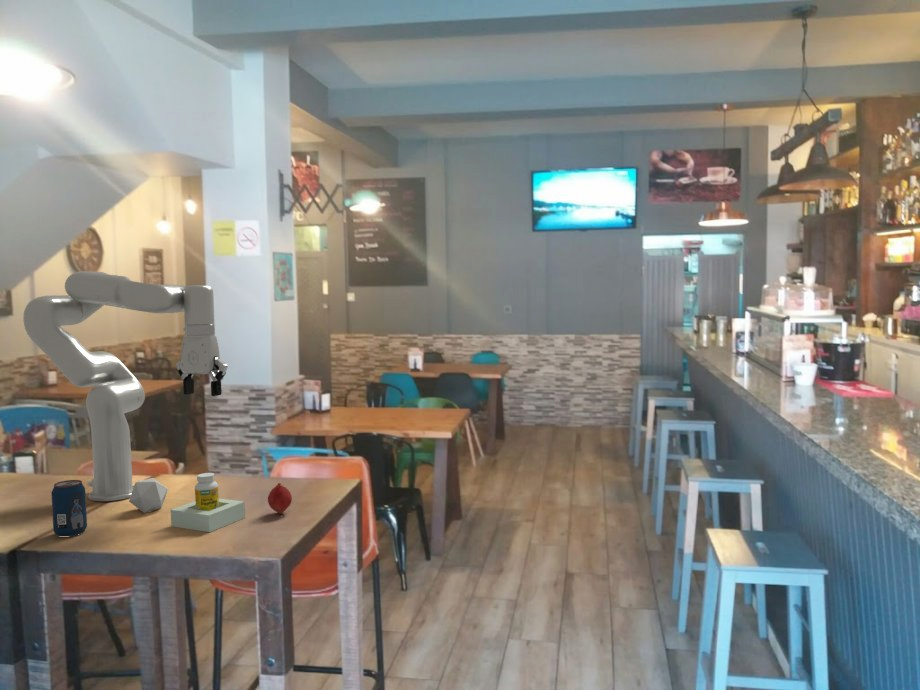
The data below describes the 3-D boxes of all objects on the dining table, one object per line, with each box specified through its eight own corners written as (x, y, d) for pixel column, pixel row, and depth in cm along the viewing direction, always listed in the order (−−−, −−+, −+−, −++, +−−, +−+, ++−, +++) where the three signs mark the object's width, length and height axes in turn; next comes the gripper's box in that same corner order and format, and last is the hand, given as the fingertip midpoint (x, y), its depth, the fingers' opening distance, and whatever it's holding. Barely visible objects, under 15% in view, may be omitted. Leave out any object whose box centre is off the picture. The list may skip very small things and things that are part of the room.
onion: (263, 513, 183) (262, 482, 182) (283, 508, 187) (282, 478, 186) (276, 518, 179) (275, 486, 178) (296, 513, 183) (295, 481, 182)
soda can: (64, 528, 173) (61, 479, 173) (93, 528, 173) (90, 479, 172) (47, 538, 166) (44, 487, 166) (77, 538, 166) (74, 486, 165)
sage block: (171, 526, 174) (170, 509, 174) (208, 512, 185) (207, 496, 185) (209, 532, 169) (209, 515, 169) (245, 517, 180) (244, 501, 180)
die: (168, 514, 186) (176, 479, 191) (138, 504, 180) (147, 468, 185) (149, 521, 190) (158, 486, 195) (119, 511, 184) (129, 476, 190)
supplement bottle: (215, 509, 181) (214, 470, 180) (221, 514, 176) (220, 475, 176) (193, 512, 178) (191, 474, 177) (199, 518, 173) (197, 478, 173)
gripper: (165, 331, 195) (167, 395, 196) (214, 332, 188) (217, 398, 189) (186, 330, 202) (188, 391, 203) (234, 330, 195) (237, 394, 196)
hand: (202, 394), depth 196 cm, fingers open, 9 cm apart
